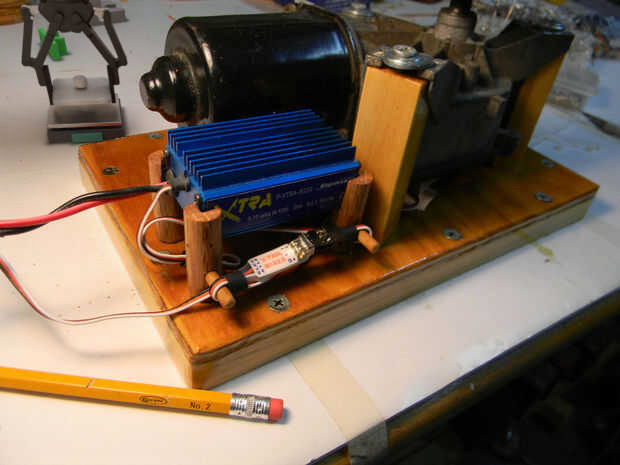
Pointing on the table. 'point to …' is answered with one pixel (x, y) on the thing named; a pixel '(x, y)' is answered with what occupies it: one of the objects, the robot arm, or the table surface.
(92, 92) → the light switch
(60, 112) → the scale pan
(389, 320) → the table surface
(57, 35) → the pipe clamp
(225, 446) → the table surface
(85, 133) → the kitchen scale
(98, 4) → the bracket
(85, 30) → the robot arm
